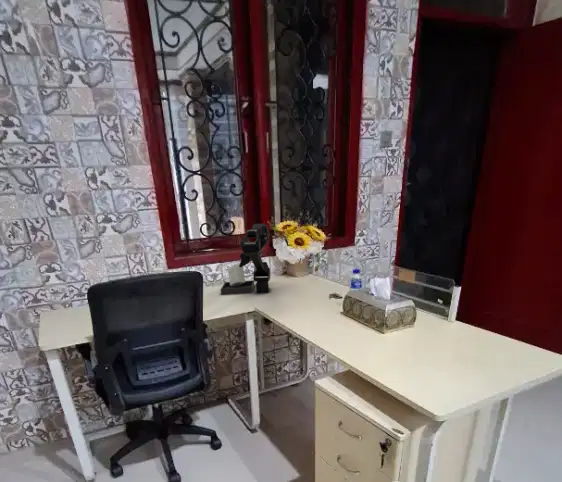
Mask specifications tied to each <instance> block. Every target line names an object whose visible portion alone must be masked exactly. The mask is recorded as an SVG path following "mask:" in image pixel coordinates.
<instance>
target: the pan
mask: <svg viewBox="0 0 562 482" xmlns="http://www.w3.org/2000/svg"><path fill="white" fill-rule="evenodd" d="M255 287H256V284H255V282H254V279H253V280H245V283H243V284H241V285H240V286H238V287H237V286H230V281H225V282H224V283H223V285H222V286H221V288H220V293H221V295H237V294H252V293H253V291H254V289H255Z"/></svg>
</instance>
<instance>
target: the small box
mask: <svg viewBox="0 0 562 482" xmlns="http://www.w3.org/2000/svg"><path fill="white" fill-rule="evenodd" d="M239 265H240V263H239V264H238V263H234V264H233V265H231V266H229V267H228V268H227V274H228V280H229V281H228V282H230V286H237V287H238V286H240V285H241V284H243V283H245V281H246V276H245V269H244V266H242V267H239Z"/></svg>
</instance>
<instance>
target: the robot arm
mask: <svg viewBox="0 0 562 482" xmlns="http://www.w3.org/2000/svg"><path fill="white" fill-rule="evenodd" d="M270 236H271V235H270V230H269V227H268V225H267V224H266V223H254V224H253V225H252V227H251V228H250V229H248V230H246V235H245V236H244V237H243V239H242V240H241V241H240V243H239V244H240V247H241V250H242V251H241V253H240V254H239V258H240V263H239V264H240V265H239V267H242V266H243V267H244V266H247V265H248V264H250V263H251V262H252V264H253V266H254V270H253V276H252V277H253V278H252V279H253V280H254V283H255V289H256V293H257V294H263V293H265V294H266V293H269V292H270V284H269V282H270V281H271V268H270V267H269V265H268V262H267V261H263V259H262V257H261V256H262V255H263V249H264V248H265V246H266V245H267V244H268V243H269V238H270ZM250 239H255V241H250Z"/></svg>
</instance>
